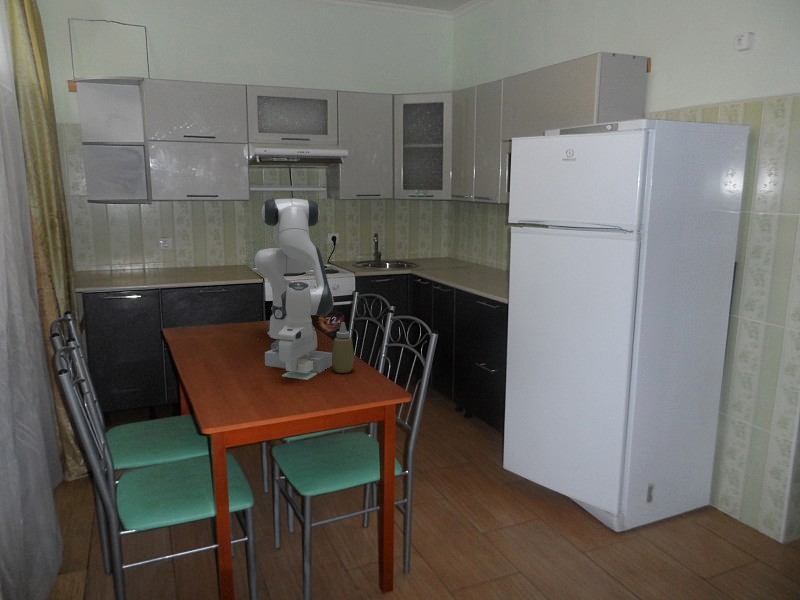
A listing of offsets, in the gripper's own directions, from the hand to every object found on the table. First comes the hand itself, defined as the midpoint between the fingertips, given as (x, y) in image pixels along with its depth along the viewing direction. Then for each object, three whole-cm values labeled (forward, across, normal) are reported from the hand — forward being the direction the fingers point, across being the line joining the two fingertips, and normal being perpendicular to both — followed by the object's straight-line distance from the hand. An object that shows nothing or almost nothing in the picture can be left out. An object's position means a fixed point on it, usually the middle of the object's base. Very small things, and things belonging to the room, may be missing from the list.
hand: (299, 368), depth 213 cm
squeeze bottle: (+3, -11, +12) cm, 16 cm away
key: (-3, -6, -13) cm, 15 cm away
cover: (+1, 0, 0) cm, 1 cm away
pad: (+3, 0, 0) cm, 3 cm away
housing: (+3, -10, -6) cm, 12 cm away
